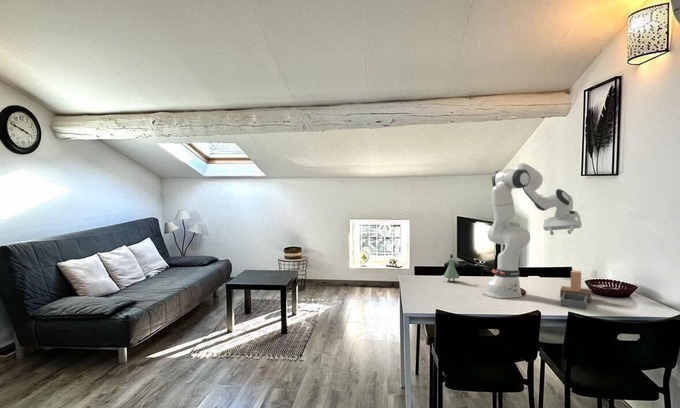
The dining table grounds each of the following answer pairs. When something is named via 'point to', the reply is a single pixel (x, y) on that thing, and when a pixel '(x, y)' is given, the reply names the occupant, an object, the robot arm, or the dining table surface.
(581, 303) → the box
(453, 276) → the character figurine
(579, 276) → the terracotta block
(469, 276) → the dining table surface
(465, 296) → the dining table surface
